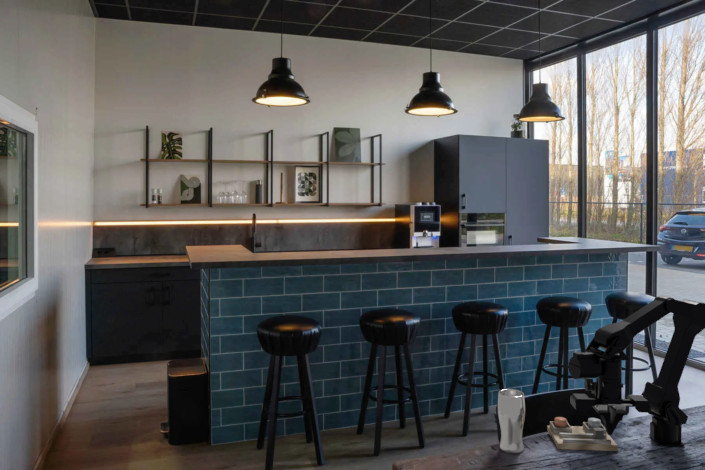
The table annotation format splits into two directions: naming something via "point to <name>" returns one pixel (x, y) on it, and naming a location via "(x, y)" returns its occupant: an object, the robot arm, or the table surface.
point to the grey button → (594, 422)
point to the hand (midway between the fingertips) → (609, 434)
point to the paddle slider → (598, 433)
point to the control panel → (580, 438)
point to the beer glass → (511, 419)
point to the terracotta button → (560, 422)
